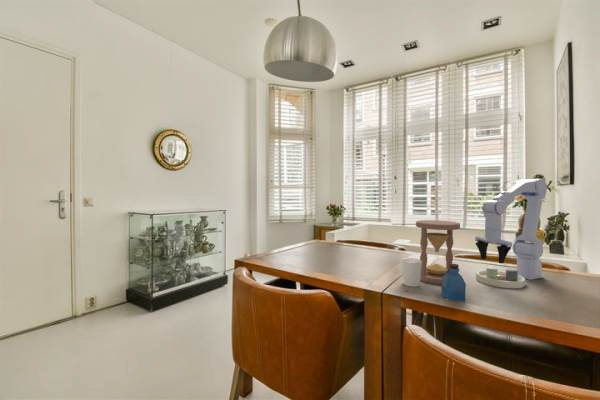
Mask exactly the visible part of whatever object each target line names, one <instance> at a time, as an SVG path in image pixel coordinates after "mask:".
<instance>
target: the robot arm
mask: <svg viewBox="0 0 600 400" xmlns="http://www.w3.org/2000/svg"><path fill="white" fill-rule="evenodd" d="M547 188H548V185H547V182H546V181H545V179H544V178H531V179H529V178H528V179H527V178H523V179H522V178H519V179H517V180H515V181H514V185H513V186H512V187H511V188H510V189H509V190H508V191H505V190H504V191H503V190H502V191H500V192H499V194H498V195H496V196H495V197H493V198H492V199H489V200H486V201H484V202H483V204H482V207H481V210H482V212H483V217H484V218H485V219H484V236H475V237H474V239H475V246H476V247H477V249H478V251H479V254H480V259H481V260H486V259H487V255H488V254H487V253H488V252H487V251H488V247H489V244H491V245H497V246H496V248H497V254H498V264H504V263H505V260H506V259H507V255H508V253H509V252H510V251H511V250H512V252H513V253H514V255H515V257H516V270H517V271H518V275H520V276H522V277H524V278H525V280H530V281H531V280H536V279H543V278H544V276H543V275H542V273H543V270H542V269H543V266H542V265H543V263H542V260H541V259H540V258H541V257H542V255H543V254H544V247H543V245H544V242H543V241H542V240H541V239H540V238H539V237H538V236H537V235H538V228H539V224H540V223H539V221H540V217H541V210H542V204H543V199H545V198H546V195H547ZM518 196H521V197H522V198H524V199H525V200H526V201H527V203H526V206H525V207H526V208H525V213H524V214H525V215H524V220H523V226H522V231H521V234H520V235H518V236H516V237H515V240H514V242H513V241H509V240H505V239H502V222H503V221H502V220H503V219H502V218H503V216H502V215H503V214H504V213H505V212H506V210H507V208H508V206H510V205H511V204H512V203H514V201H515V198H516V197H518Z"/></svg>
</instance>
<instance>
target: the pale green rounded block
mask: <svg viewBox="0 0 600 400" xmlns="http://www.w3.org/2000/svg"><path fill="white" fill-rule="evenodd" d="M485 270H486V277H487V278H491V279H496V280H497V276H498V271H499V270H498V268H496V267H491V266H490V267H486V269H485Z"/></svg>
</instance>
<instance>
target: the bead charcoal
mask: <svg viewBox="0 0 600 400" xmlns="http://www.w3.org/2000/svg"><path fill="white" fill-rule="evenodd" d="M505 272H506V281H518V271H517V269H512V268H509V269H508V268H507V269H505Z"/></svg>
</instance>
